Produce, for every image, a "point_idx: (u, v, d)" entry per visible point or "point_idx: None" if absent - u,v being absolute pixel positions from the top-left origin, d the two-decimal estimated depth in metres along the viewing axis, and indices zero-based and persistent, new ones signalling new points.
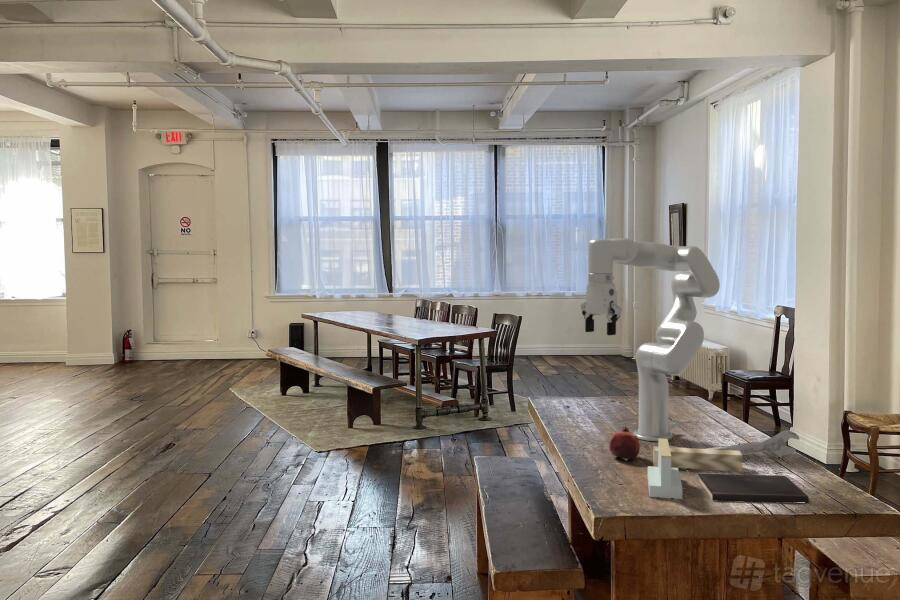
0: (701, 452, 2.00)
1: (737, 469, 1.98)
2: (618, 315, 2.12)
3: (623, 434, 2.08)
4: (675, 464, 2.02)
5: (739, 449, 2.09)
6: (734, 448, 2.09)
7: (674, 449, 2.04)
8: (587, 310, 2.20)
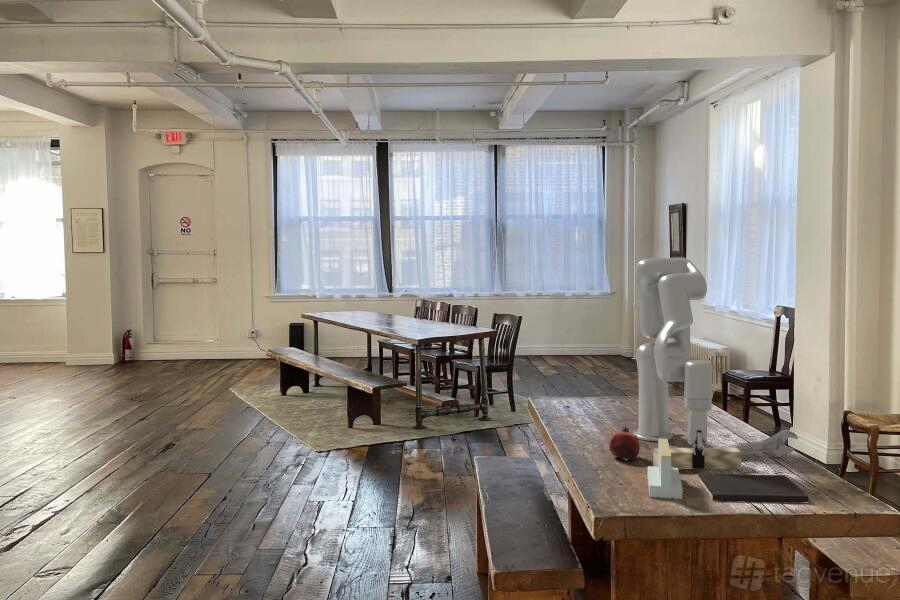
0: None
1: (737, 465, 2.00)
2: None
3: (623, 434, 2.08)
4: (678, 465, 2.00)
5: None
6: None
7: (675, 450, 2.02)
8: (706, 441, 1.97)
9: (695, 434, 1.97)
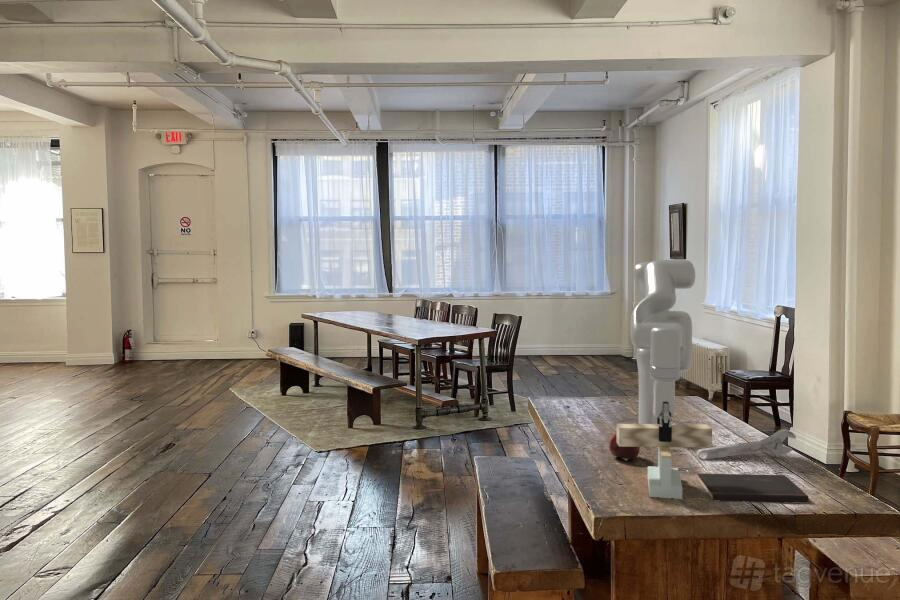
0: None
1: (706, 444, 1.84)
2: None
3: None
4: (641, 442, 1.85)
5: (737, 449, 2.09)
6: (732, 448, 2.09)
7: (639, 425, 1.87)
8: (673, 413, 1.82)
9: (661, 406, 1.81)
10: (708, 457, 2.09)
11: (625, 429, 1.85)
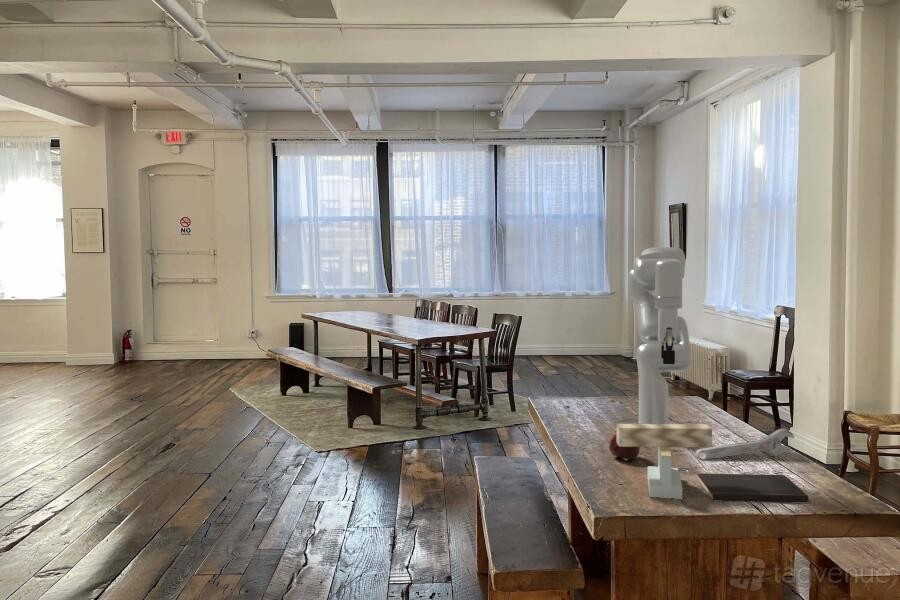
0: (669, 427, 1.85)
1: (706, 444, 1.84)
2: None
3: None
4: (641, 442, 1.85)
5: (736, 448, 2.10)
6: (731, 447, 2.09)
7: (639, 425, 1.87)
8: (676, 339, 1.99)
9: (665, 331, 1.98)
10: (707, 457, 2.09)
11: (625, 429, 1.85)
